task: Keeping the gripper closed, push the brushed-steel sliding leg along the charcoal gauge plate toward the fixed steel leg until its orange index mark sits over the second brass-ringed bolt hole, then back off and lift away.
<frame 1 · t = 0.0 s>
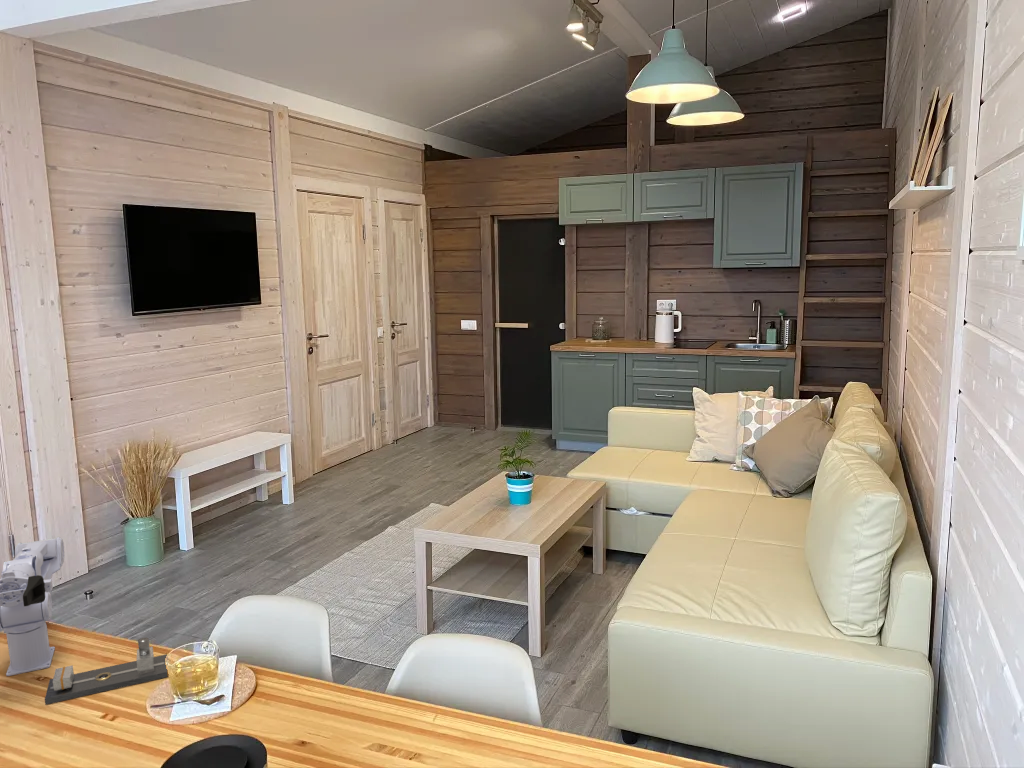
hand: (1, 605, 145), 22 cm above the table, tool horizontal, fingers open, 7 cm apart
gauge plate: (109, 680, 158), on the table
sliding leg: (63, 677, 154), point 3 cm above the table, slide at 0.0 cm
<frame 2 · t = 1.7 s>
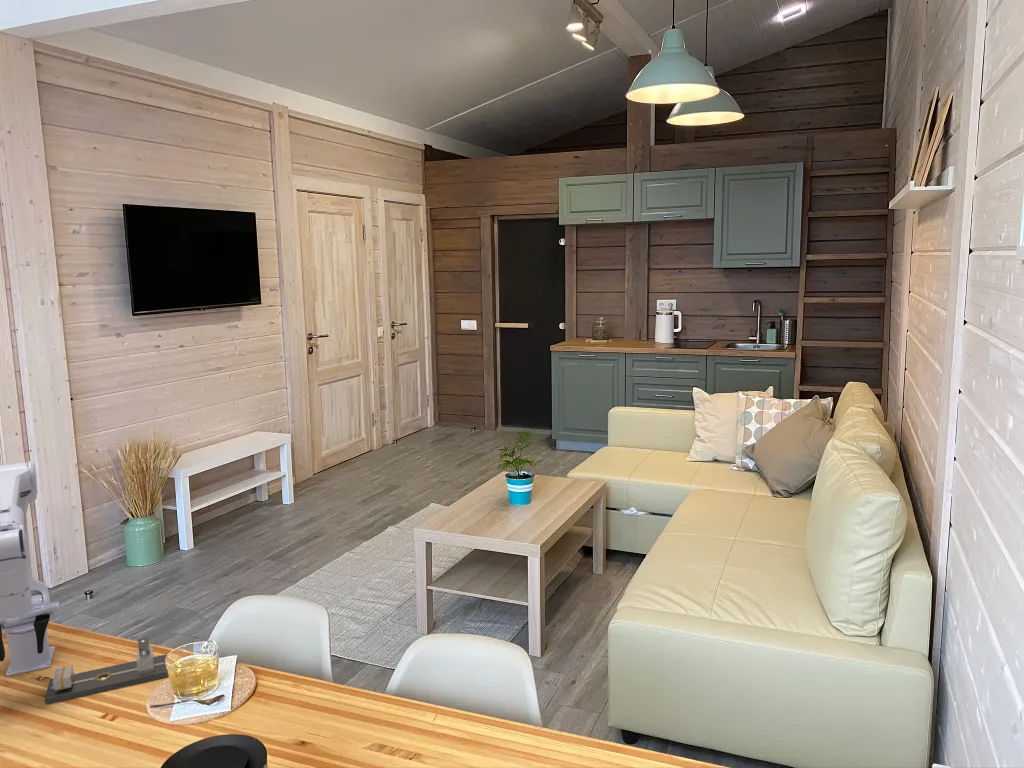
hand: (21, 655, 150), 9 cm above the table, tool pointing down, fingers open, 6 cm apart
nothing on the table moved.
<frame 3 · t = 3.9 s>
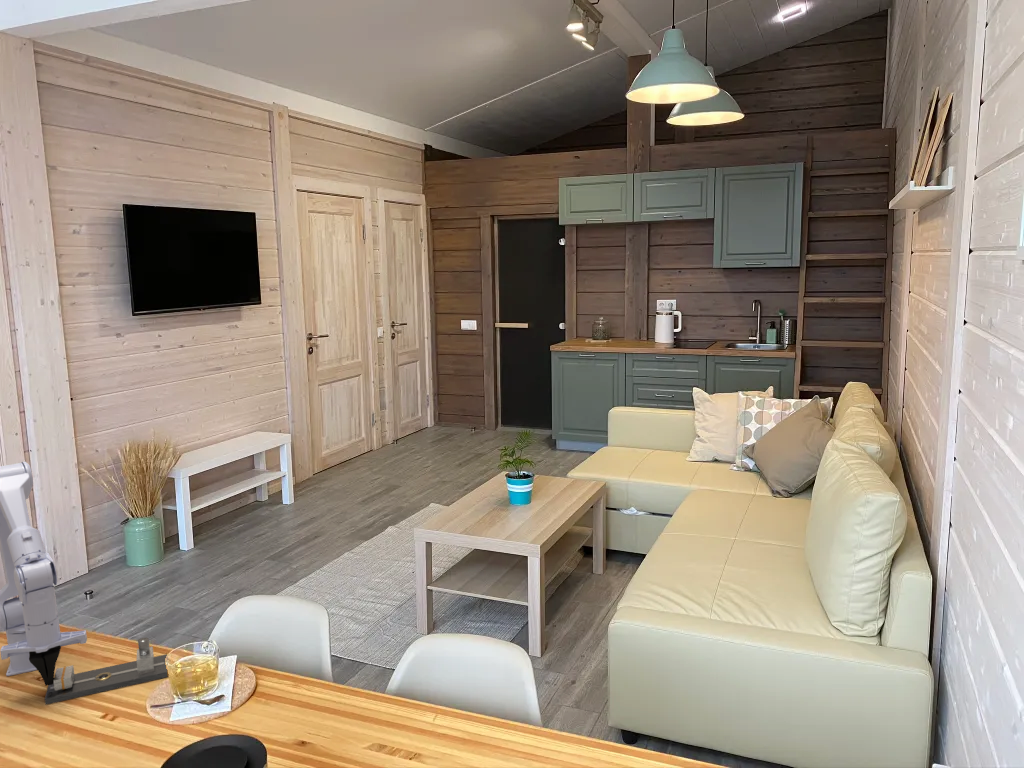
hand: (49, 682, 153), 2 cm above the table, tool pointing down, fingers closed
sliding leg: (64, 677, 154), point 3 cm above the table, slide at 0.1 cm, touching gripper
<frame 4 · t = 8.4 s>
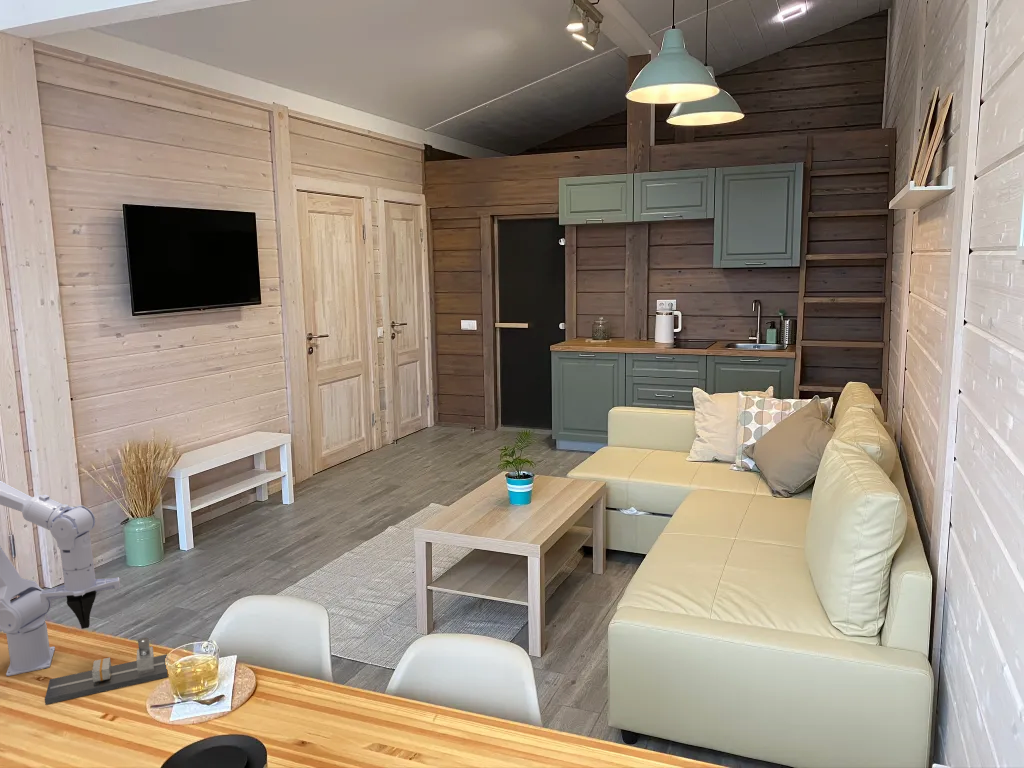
hand: (85, 626, 162), 9 cm above the table, tool pointing down, fingers closed
sliding leg: (101, 669, 157), point 3 cm above the table, slide at 6.9 cm
at the end: sliding leg slide at 6.9 cm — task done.
